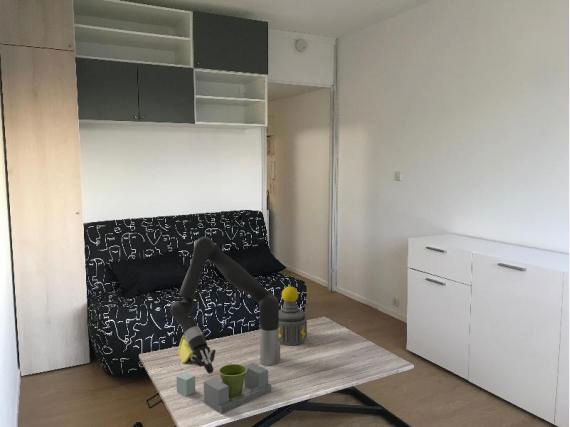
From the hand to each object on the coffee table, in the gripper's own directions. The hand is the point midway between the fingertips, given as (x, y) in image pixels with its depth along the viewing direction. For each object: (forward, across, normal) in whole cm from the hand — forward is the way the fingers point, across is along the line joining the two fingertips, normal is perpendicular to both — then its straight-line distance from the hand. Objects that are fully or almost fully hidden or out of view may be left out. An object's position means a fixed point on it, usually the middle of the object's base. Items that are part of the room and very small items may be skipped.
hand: (211, 372), depth 209 cm
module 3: (+16, +10, -10) cm, 22 cm away
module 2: (+16, -10, -10) cm, 22 cm away
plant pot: (+15, 0, -8) cm, 17 cm away
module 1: (+3, -13, +3) cm, 14 cm away
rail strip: (+20, 0, -14) cm, 25 cm away
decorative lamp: (-5, +61, +12) cm, 62 cm away
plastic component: (-19, +10, +26) cm, 34 cm away
